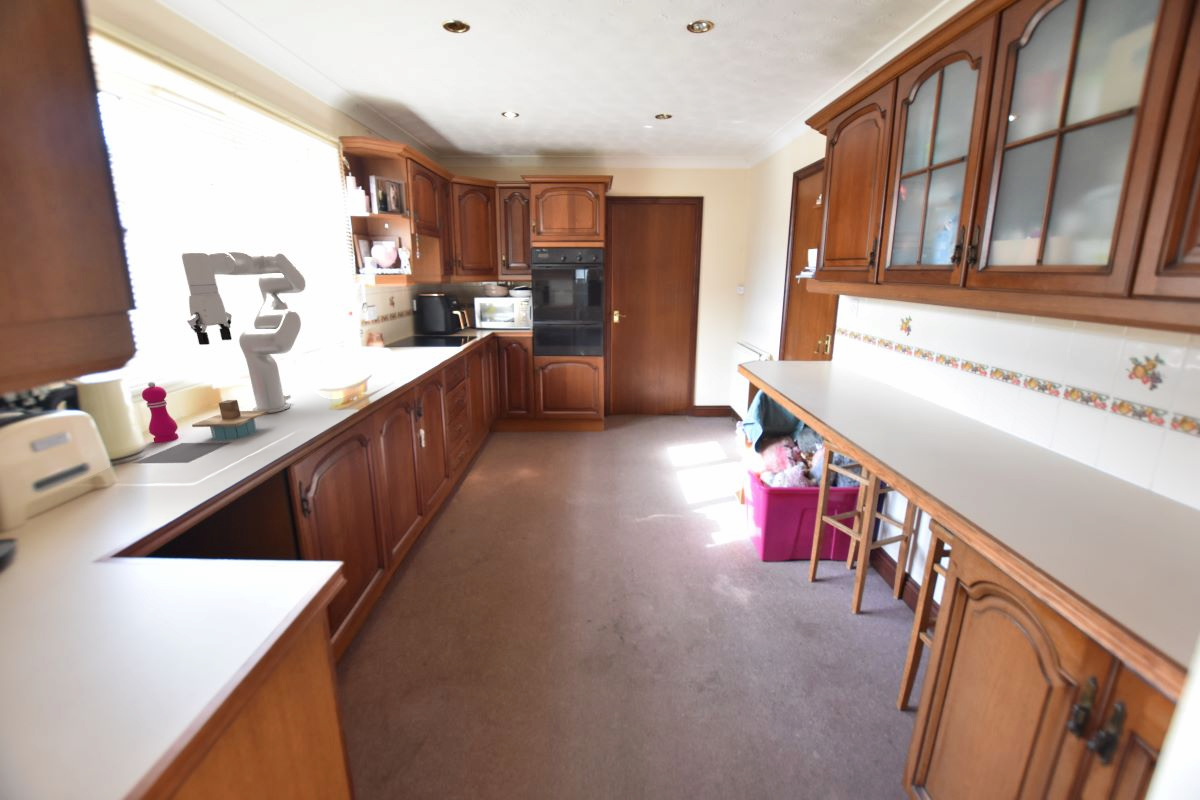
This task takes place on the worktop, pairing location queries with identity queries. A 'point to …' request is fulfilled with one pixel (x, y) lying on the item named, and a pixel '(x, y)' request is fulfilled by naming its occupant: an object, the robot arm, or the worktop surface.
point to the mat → (183, 453)
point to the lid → (230, 416)
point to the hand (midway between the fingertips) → (216, 342)
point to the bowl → (233, 431)
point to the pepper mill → (159, 415)
